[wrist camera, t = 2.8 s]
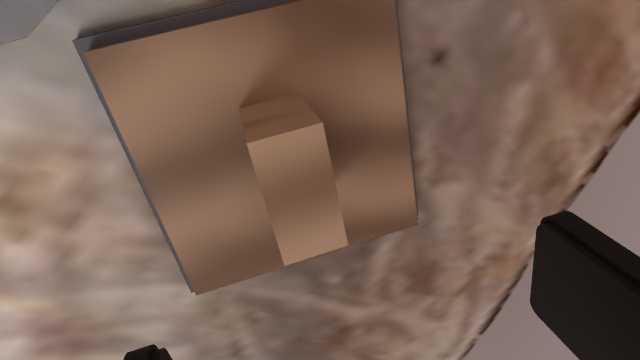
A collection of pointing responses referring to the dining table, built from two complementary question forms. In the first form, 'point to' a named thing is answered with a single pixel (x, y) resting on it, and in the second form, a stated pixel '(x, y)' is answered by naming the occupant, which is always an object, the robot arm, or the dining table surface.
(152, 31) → the mat
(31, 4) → the bowl
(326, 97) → the lid
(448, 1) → the dining table surface
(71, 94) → the dining table surface
